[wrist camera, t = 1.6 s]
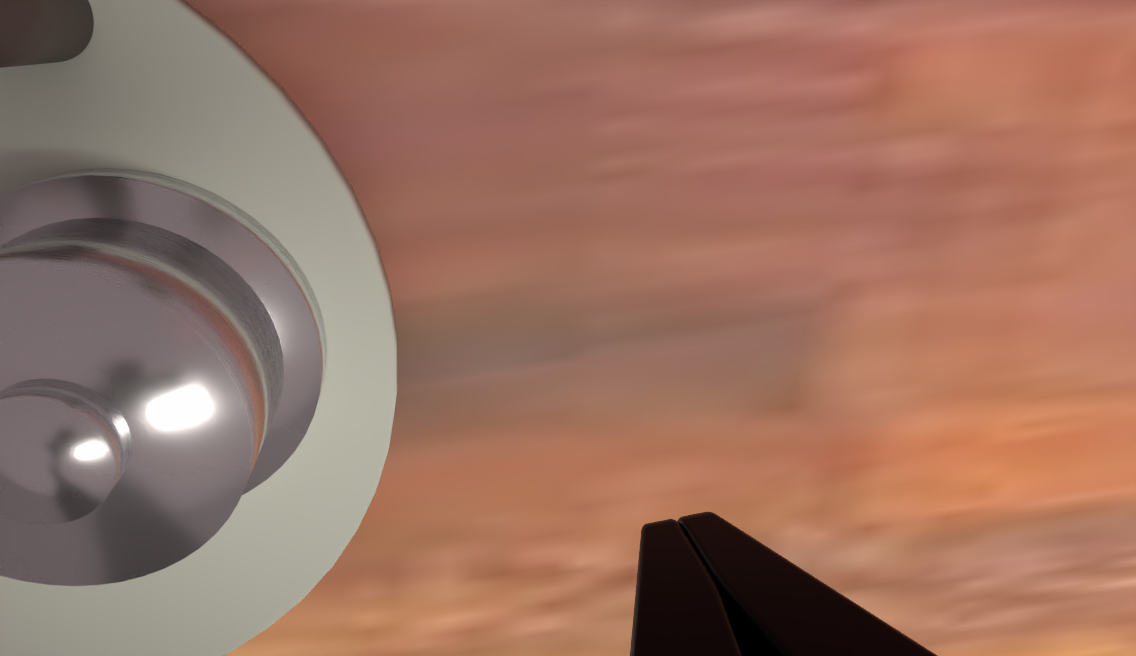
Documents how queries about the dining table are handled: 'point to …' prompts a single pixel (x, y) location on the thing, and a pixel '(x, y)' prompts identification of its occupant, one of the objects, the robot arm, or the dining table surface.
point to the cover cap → (141, 371)
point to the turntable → (285, 208)
